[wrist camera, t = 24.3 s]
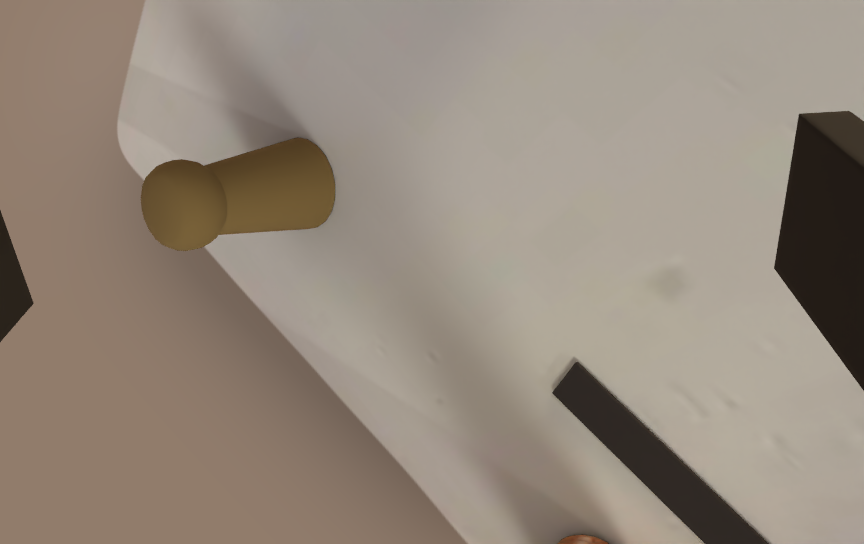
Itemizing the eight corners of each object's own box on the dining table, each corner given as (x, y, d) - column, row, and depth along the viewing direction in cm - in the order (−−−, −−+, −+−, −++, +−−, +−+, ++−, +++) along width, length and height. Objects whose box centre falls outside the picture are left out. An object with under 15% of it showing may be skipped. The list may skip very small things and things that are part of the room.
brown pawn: (329, 136, 51) (180, 154, 42) (339, 230, 52) (196, 267, 44) (266, 138, 54) (118, 156, 46) (277, 227, 56) (134, 259, 47)
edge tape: (553, 391, 44) (552, 393, 44) (577, 361, 43) (575, 362, 43) (777, 612, 39) (776, 614, 39) (812, 585, 37) (811, 587, 37)
